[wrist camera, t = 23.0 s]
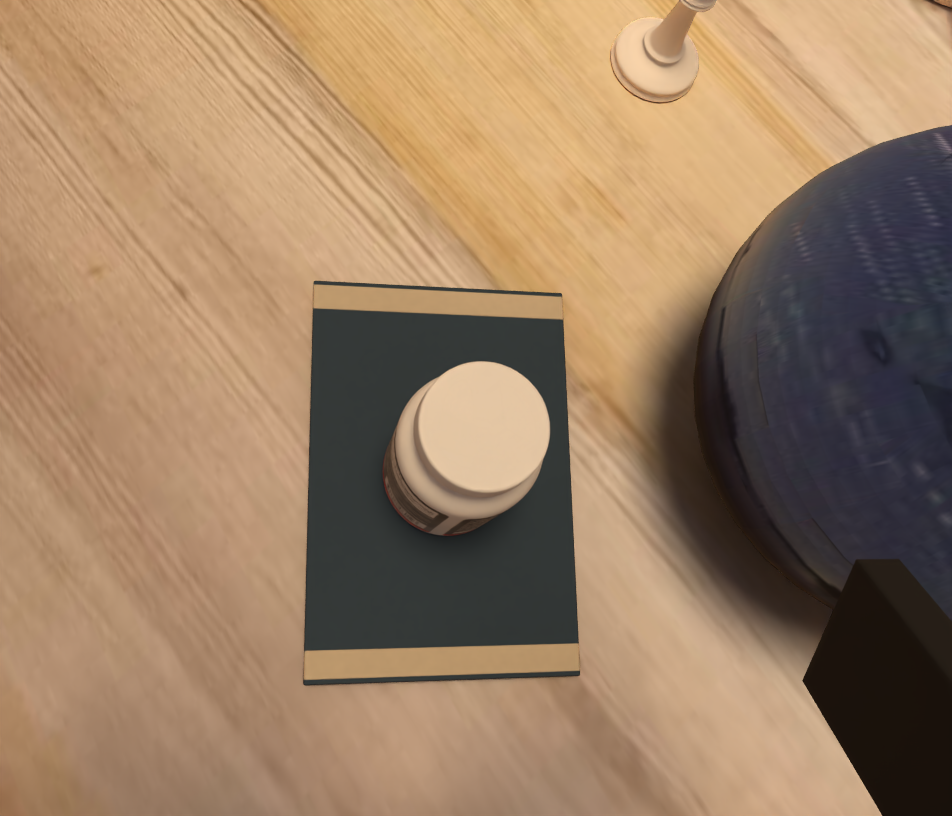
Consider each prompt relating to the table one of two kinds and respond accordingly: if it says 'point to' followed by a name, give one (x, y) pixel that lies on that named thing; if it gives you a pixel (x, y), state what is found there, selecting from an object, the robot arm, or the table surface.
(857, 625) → the robot arm
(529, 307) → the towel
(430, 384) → the pill bottle
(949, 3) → the cup
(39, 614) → the table surface
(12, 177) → the table surface
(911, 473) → the decorative sphere
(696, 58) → the chess piece
